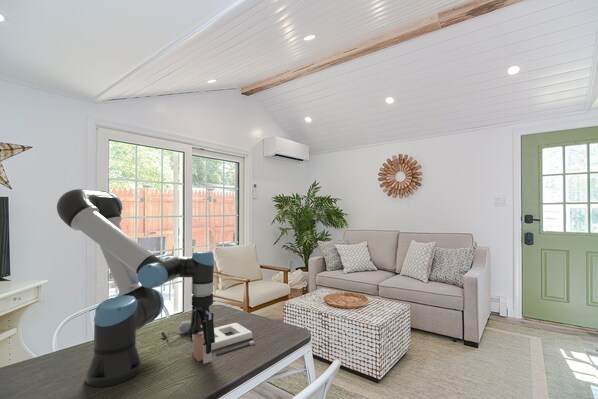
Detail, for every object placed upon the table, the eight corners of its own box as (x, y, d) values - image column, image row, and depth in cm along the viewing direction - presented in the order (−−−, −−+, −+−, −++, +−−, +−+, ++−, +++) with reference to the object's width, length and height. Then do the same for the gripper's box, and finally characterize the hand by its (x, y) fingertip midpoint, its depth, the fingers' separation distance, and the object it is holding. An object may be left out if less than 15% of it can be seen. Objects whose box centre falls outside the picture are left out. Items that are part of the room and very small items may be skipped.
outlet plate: (205, 351, 113) (206, 344, 113) (192, 339, 123) (192, 332, 123) (252, 337, 125) (252, 331, 126) (235, 327, 136) (236, 321, 136)
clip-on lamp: (165, 352, 119) (210, 333, 128) (162, 338, 118) (208, 319, 127) (162, 338, 129) (204, 322, 138) (159, 325, 128) (201, 309, 137)
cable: (216, 356, 109) (216, 353, 109) (214, 354, 110) (215, 352, 110) (254, 343, 120) (254, 341, 120) (253, 342, 121) (253, 340, 121)
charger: (198, 361, 106) (198, 337, 106) (193, 357, 109) (194, 334, 109) (208, 357, 108) (209, 334, 108) (204, 353, 111) (204, 331, 112)
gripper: (225, 298, 103) (224, 365, 102) (200, 286, 120) (199, 343, 119) (204, 302, 99) (203, 372, 98) (181, 289, 115) (180, 349, 114)
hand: (201, 356), depth 108 cm, fingers open, 9 cm apart
